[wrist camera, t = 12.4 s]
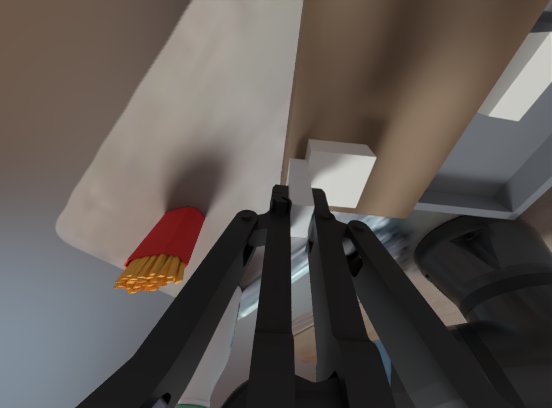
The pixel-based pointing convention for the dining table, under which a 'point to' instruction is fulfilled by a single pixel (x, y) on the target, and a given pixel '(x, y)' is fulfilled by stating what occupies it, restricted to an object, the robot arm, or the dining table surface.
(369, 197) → the walnut platform
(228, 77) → the dining table surface
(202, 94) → the dining table surface
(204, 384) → the milk bottle
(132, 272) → the french fries
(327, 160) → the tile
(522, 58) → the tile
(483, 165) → the box
